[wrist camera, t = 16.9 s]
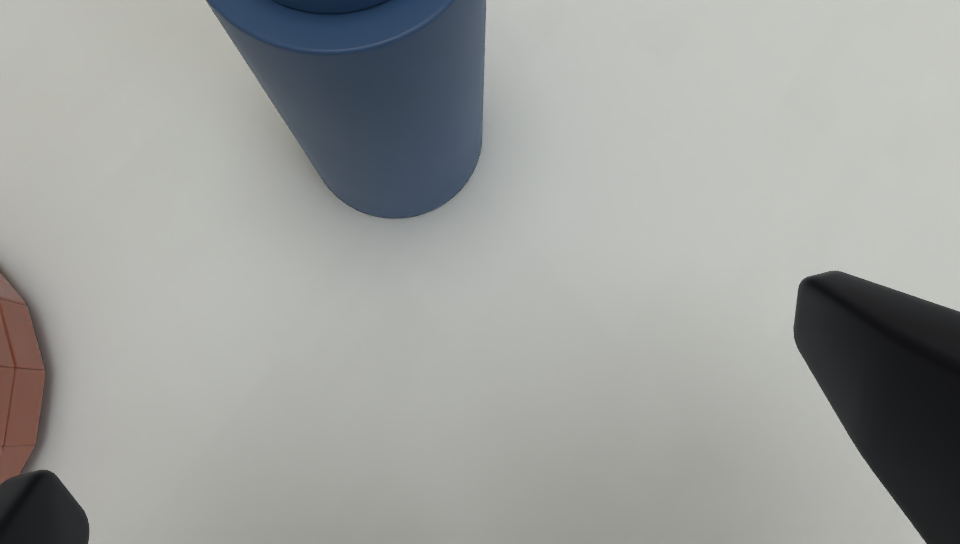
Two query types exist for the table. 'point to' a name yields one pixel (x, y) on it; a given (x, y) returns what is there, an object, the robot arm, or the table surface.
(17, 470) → the dish
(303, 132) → the blue bottle
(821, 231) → the table surface
